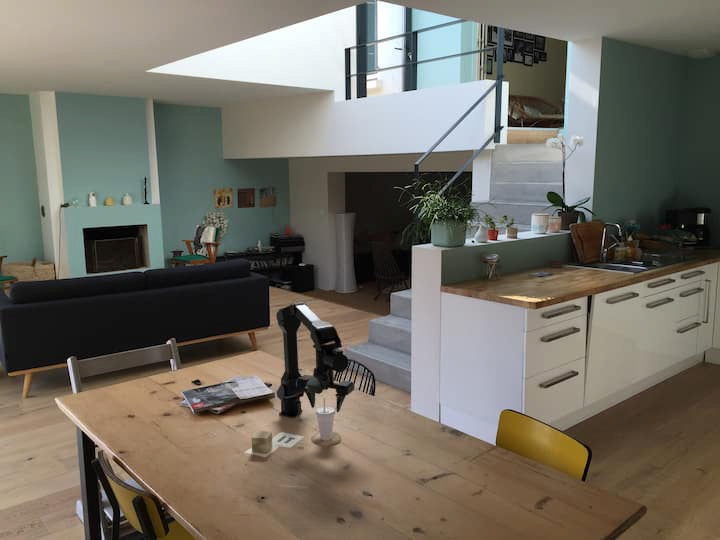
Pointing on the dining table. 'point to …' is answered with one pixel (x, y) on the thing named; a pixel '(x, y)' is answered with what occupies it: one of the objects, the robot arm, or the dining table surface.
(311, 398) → the robot arm
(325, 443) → the coaster
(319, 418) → the smoothie
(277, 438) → the tile
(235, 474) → the dining table surface
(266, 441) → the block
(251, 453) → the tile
